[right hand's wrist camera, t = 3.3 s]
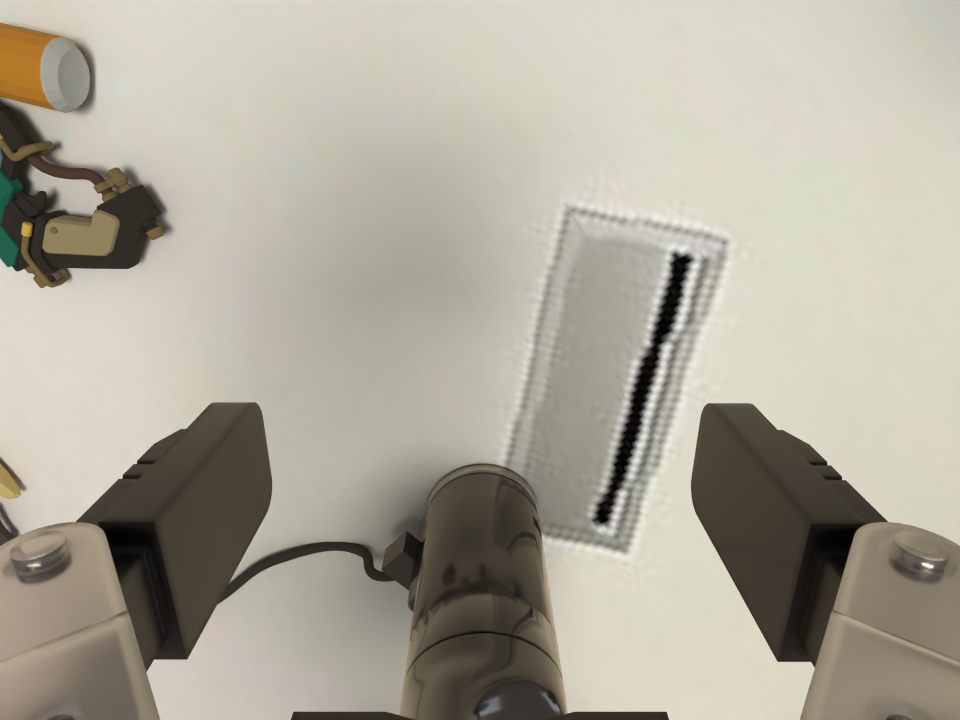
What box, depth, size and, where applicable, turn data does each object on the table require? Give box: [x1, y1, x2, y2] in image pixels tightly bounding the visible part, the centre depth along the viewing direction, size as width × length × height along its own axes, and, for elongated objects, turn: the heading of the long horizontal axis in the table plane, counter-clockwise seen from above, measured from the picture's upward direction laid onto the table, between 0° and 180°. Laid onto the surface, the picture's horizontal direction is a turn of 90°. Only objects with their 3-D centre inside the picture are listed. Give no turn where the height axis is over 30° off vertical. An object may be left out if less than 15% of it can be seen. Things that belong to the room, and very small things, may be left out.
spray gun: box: [0, 23, 165, 288], centre depth 39 cm, size 4×17×15 cm
